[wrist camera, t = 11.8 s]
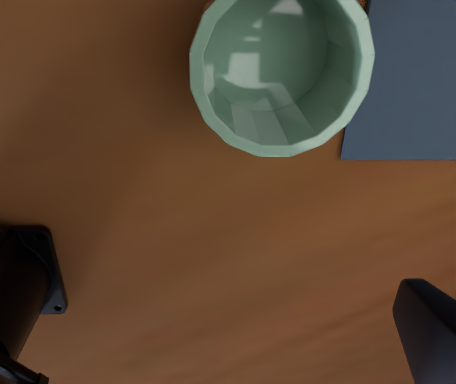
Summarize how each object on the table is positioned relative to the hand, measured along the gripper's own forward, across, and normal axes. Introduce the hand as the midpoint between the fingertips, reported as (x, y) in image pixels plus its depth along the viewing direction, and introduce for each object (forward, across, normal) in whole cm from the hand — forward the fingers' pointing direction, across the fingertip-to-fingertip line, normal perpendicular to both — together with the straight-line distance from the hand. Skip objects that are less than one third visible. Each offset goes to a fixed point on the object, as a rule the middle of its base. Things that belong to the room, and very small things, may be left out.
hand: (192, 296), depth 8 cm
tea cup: (+13, -3, -3) cm, 14 cm away
